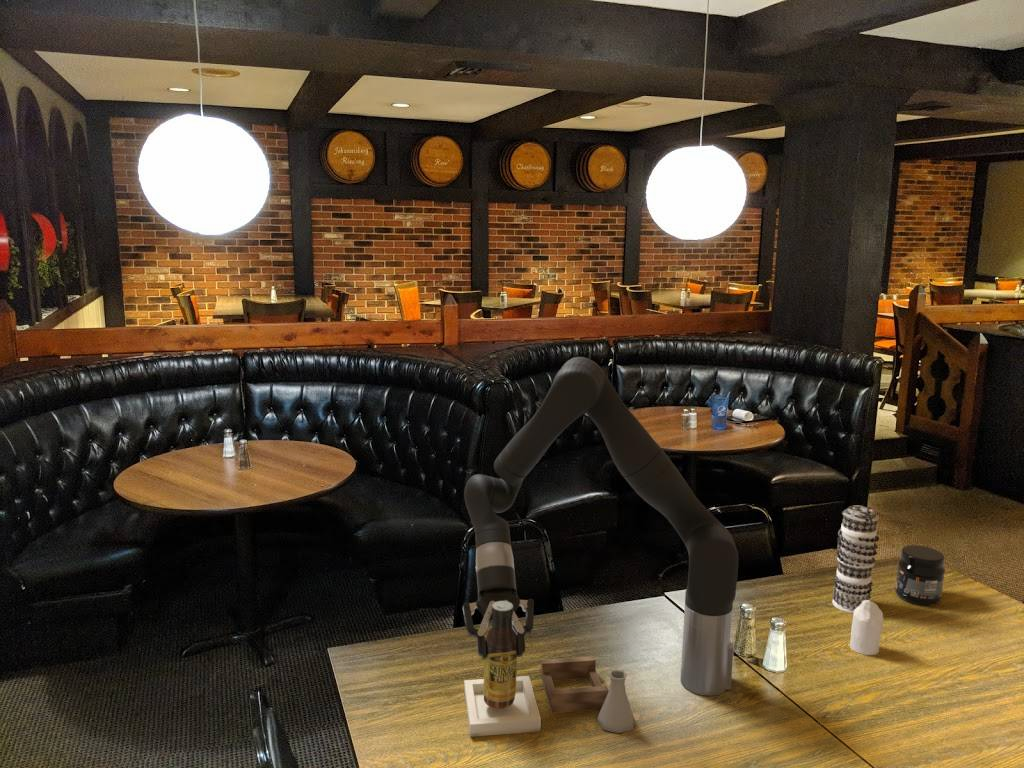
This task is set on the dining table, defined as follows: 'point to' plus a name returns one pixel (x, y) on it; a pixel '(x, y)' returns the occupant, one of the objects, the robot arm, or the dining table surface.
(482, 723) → the tray
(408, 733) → the dining table surface
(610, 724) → the flask
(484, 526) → the robot arm
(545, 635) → the dining table surface
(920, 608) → the dining table surface
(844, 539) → the decorative candle
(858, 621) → the white pointed cylinder
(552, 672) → the holder
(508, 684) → the sauce bottle
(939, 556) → the supplement container
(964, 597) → the dining table surface
